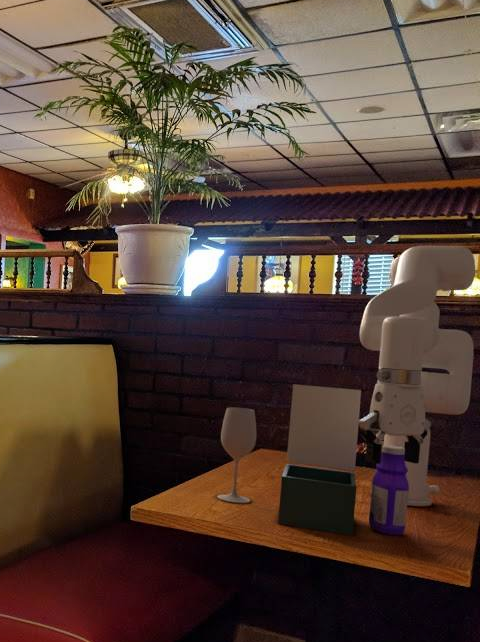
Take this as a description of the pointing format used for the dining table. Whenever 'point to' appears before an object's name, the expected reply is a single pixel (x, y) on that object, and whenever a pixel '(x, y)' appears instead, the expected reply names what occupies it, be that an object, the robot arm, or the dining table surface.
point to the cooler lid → (324, 426)
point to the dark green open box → (318, 499)
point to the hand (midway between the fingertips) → (391, 462)
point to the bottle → (389, 492)
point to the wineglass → (238, 442)
